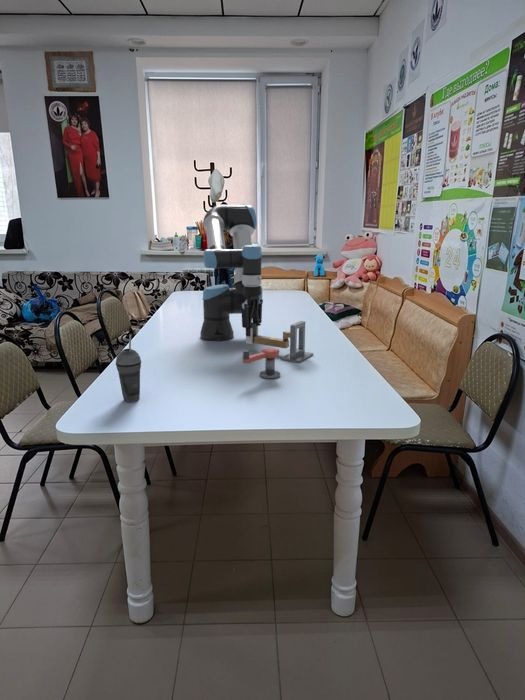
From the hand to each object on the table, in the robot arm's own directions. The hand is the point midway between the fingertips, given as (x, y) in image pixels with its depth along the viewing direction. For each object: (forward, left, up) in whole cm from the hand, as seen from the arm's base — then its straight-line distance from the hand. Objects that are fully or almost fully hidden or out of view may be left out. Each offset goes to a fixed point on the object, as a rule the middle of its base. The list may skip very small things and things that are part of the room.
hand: (252, 342), depth 184 cm
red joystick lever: (+22, -29, +4) cm, 36 cm away
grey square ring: (+21, 0, -3) cm, 21 cm away
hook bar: (+9, 0, 0) cm, 9 cm away
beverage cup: (-1, -64, -3) cm, 64 cm away
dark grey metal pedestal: (+23, -24, -3) cm, 33 cm away
